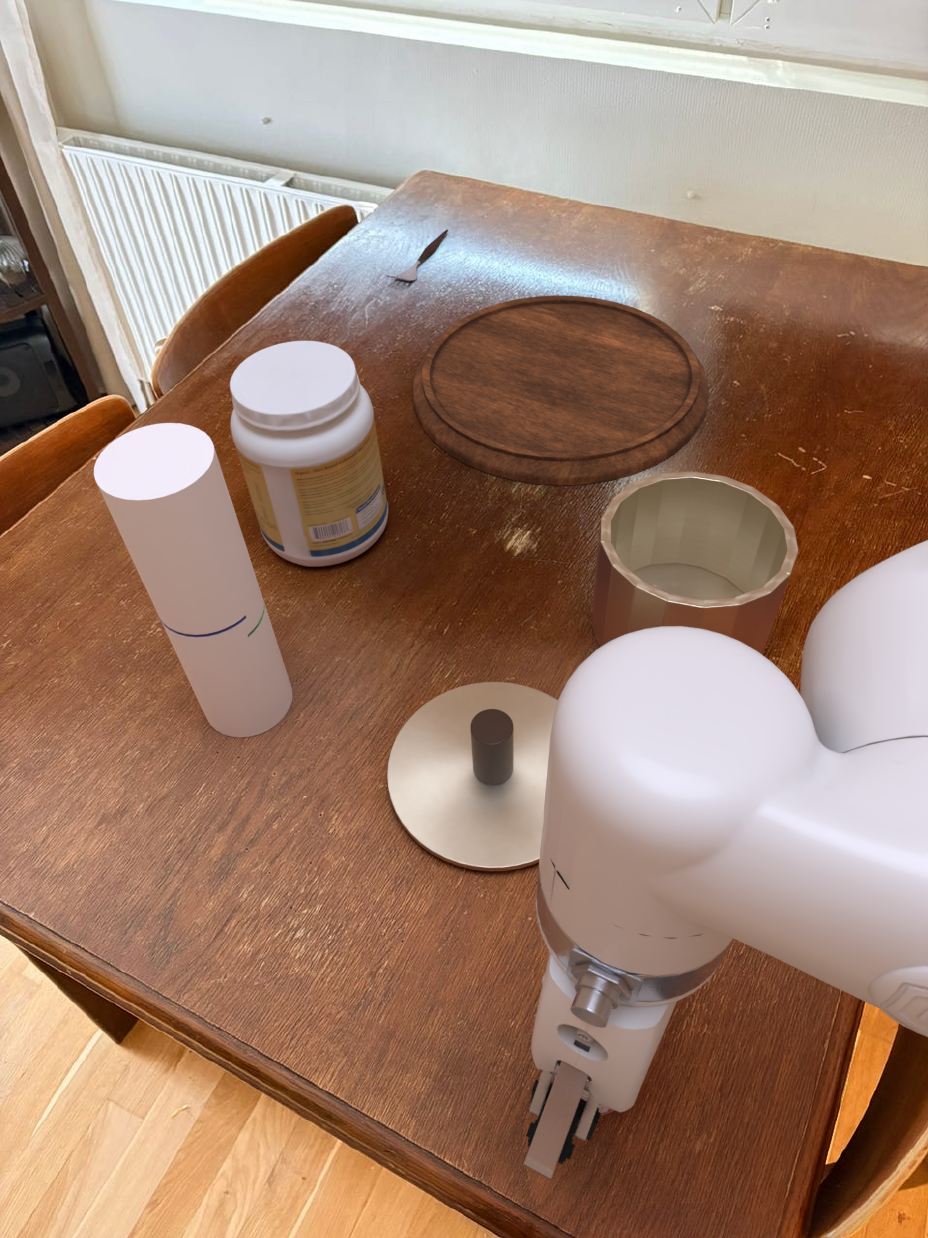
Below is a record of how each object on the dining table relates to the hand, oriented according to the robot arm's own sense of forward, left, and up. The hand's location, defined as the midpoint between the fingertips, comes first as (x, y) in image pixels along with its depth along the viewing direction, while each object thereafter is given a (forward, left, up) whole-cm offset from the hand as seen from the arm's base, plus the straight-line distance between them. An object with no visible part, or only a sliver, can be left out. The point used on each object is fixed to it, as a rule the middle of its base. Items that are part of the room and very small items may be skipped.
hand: (596, 1025), depth 47 cm
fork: (+55, -82, -9) cm, 99 cm away
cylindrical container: (+35, -14, -9) cm, 39 cm away
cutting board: (+28, -63, -9) cm, 69 cm away
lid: (+14, -16, -9) cm, 23 cm away
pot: (+6, -36, -9) cm, 38 cm away
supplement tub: (+40, -34, -9) cm, 53 cm away
